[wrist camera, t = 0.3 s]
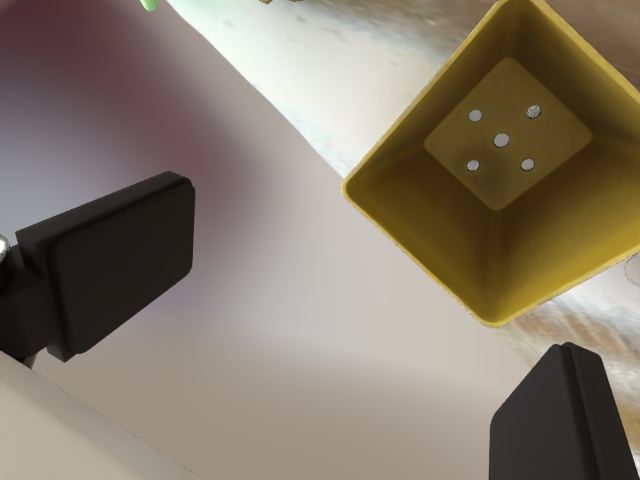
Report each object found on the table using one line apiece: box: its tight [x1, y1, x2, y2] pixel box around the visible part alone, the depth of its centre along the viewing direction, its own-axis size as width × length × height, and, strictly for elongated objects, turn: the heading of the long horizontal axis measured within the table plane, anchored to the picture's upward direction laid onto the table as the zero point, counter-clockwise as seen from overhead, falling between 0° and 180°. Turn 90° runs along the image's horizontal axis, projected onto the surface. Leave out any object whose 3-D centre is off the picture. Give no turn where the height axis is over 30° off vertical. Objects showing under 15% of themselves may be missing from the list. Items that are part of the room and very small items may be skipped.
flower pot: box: [341, 0, 640, 328], centre depth 35 cm, size 19×19×17 cm
